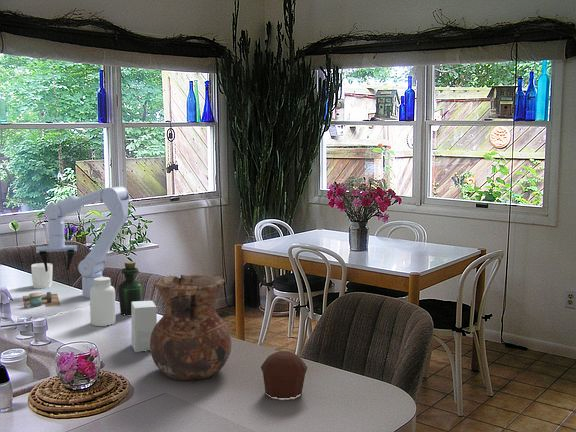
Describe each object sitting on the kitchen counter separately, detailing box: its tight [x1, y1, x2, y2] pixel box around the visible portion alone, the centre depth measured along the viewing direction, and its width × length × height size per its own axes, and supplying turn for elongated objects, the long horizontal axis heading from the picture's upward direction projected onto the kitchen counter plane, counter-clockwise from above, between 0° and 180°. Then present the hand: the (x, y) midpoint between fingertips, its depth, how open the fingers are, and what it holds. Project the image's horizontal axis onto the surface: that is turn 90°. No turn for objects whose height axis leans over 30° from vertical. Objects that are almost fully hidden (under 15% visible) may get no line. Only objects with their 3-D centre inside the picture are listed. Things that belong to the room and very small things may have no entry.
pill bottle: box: [89, 276, 117, 327], centre depth 219 cm, size 8×8×15 cm
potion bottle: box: [117, 260, 143, 315], centre depth 232 cm, size 8×8×18 cm
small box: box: [130, 300, 158, 353], centre depth 195 cm, size 8×6×13 cm
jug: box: [149, 274, 233, 381], centre depth 175 cm, size 22×21×25 cm
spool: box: [28, 292, 43, 308], centre depth 236 cm, size 4×4×6 cm
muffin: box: [260, 350, 308, 398], centre depth 163 cm, size 12×11×10 cm
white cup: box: [30, 262, 53, 289], centre depth 265 cm, size 8×8×10 cm
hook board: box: [22, 291, 62, 309], centre depth 242 cm, size 19×12×5 cm, turn 23°
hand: (57, 270), depth 254 cm, fingers open, 7 cm apart
